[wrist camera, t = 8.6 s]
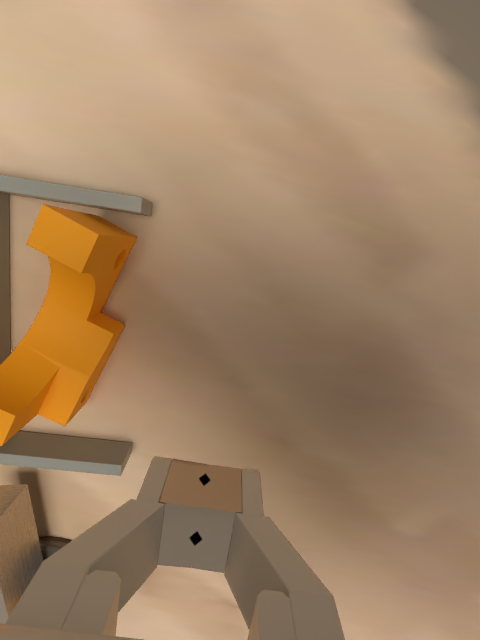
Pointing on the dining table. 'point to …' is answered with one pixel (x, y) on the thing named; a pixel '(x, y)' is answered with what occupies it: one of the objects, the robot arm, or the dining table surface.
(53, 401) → the pipe clamp
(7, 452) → the bay
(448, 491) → the dining table surface
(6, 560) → the crank
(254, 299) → the dining table surface
